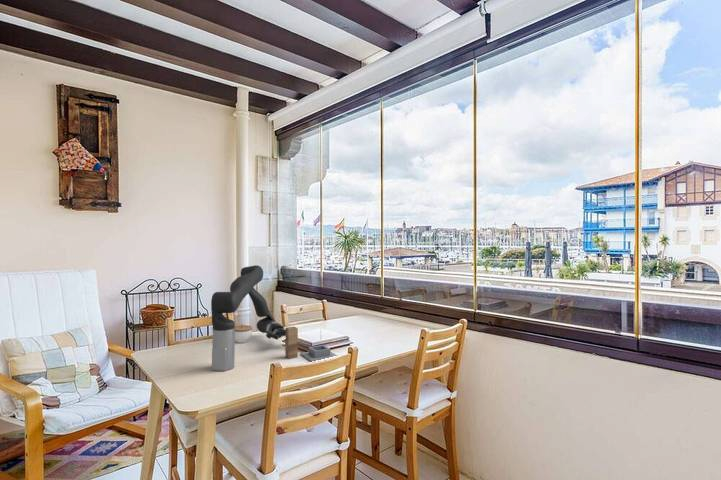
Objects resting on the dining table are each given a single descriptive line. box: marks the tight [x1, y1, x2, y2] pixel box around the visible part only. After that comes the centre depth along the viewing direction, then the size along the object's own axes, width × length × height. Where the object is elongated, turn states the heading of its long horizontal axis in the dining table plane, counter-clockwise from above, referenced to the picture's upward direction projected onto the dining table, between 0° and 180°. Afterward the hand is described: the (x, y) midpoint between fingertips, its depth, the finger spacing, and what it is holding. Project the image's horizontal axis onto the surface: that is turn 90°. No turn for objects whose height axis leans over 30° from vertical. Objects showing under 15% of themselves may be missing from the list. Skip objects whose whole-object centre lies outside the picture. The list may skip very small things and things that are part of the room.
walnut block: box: [284, 326, 299, 360], centre depth 187 cm, size 4×4×14 cm
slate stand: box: [299, 344, 338, 363], centre depth 189 cm, size 14×14×4 cm
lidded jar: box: [235, 323, 253, 344], centre depth 214 cm, size 11×11×9 cm
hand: (285, 336), depth 195 cm, fingers open, 8 cm apart
